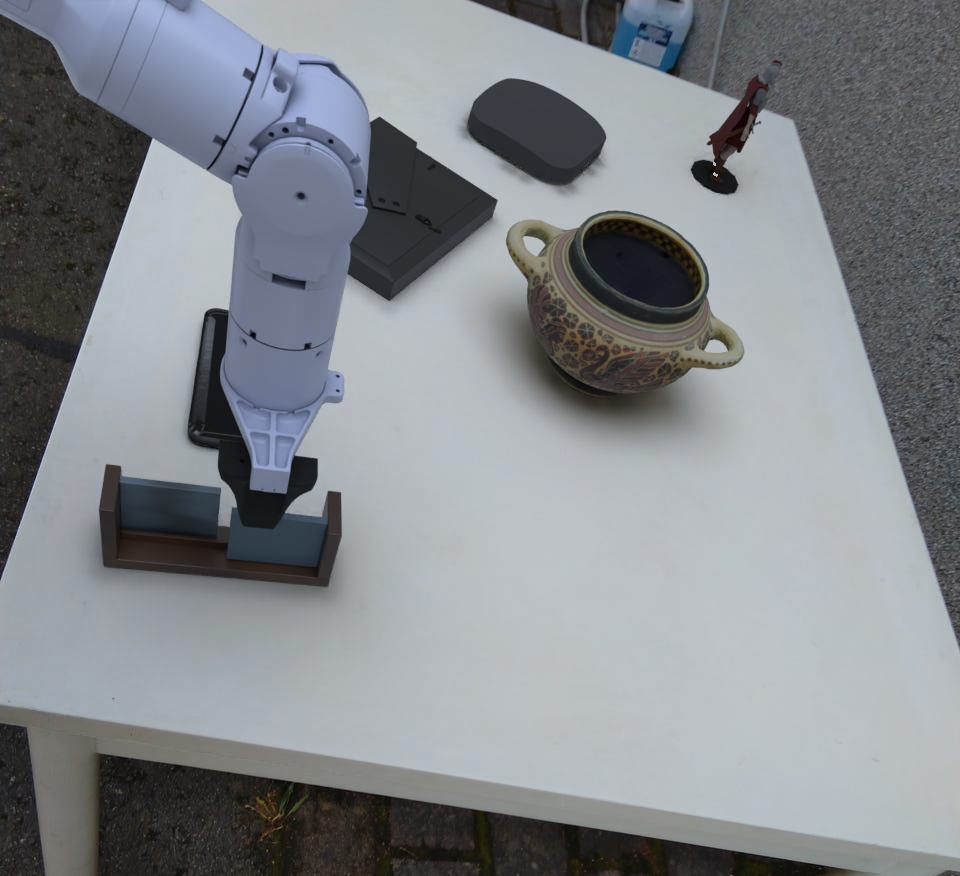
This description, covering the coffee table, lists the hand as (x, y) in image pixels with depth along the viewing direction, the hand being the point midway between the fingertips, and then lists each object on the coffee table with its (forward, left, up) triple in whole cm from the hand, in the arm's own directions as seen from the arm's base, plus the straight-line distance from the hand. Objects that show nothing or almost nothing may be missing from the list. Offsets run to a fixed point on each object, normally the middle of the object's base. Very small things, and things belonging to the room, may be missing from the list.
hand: (260, 477), depth 61 cm
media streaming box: (-37, +64, -11) cm, 75 cm away
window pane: (+1, +1, -9) cm, 9 cm away
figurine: (-24, +85, -11) cm, 89 cm away
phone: (-16, +10, -10) cm, 21 cm away
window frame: (-2, -1, -10) cm, 11 cm away
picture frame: (-31, +36, -11) cm, 48 cm away
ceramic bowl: (-5, +43, -11) cm, 44 cm away
